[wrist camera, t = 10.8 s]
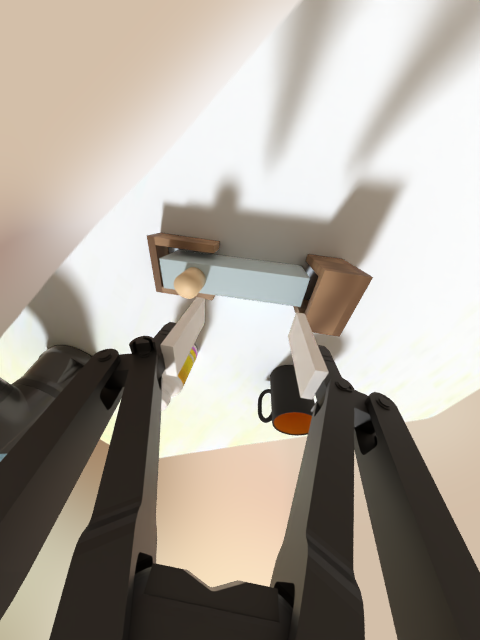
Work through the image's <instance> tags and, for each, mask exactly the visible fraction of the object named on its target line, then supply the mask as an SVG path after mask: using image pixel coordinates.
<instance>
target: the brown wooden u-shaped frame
mask: <svg viewBox="0 0 480 640" xmlns="http://www.w3.org/2000/svg"><path fill="white" fill-rule="evenodd" d="M147 240H148V246H149V252H150V257H151V263H152V269H153V275H154V281H155V286H156V292H162V293H168V294H175V295H179V294H178V293H177V292H176V290H175V289H167V288H164V285H163V279H162V272H161V266H160V260H159V258H162V257H164V256H166V255H168V254H169V250H168V247H173V248H179V249H186V250H193V251H200V252H207V253H215V252H216V251H217V250H218V249H219V245H220V241H214V240H207V239H200V238H193V237H186V236H179V235H172V234H165V233H157V234H153V235H148V236H147ZM196 297H200V298H205V299H207V300H213V299H214V297H215V295H210V294H203V293H198V294H197V296H195V297H194V298H196Z"/></svg>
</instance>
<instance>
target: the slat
mask: <svg viewBox="0 0 480 640" xmlns="http://www.w3.org/2000/svg"><path fill="white" fill-rule="evenodd" d="M159 260H160V266H161V272H162V279H163V285H164V288H167V289H175V290H176V292H177V293H178V294H179V295H180V296H182V297H184V298H187V299H191V298H194V297H195V296H197V294H198V293H203V294H210V295H218V296H225V297H232V298H239V299H246V300H254V301H261V302H268V303H275V304H282V305H290V306H297V307H301V304H302V301H303V298H304V295H305V292H306V289H307V286H308V283H309V280H310V278H309V276H308V275H307V273H306V272H305V271H304V269H303V268H302V266H300V265H292V264H284V263H277V262H269V261H261V260H253V259H246V258H238V257H230V256H223V255H215V254H207V253H199V252H192V251H184V250H177V251H175V252H172V253H170V254H168V255H166V256H164V257H162V258H159Z"/></svg>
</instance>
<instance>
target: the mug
mask: <svg viewBox="0 0 480 640" xmlns="http://www.w3.org/2000/svg"><path fill="white" fill-rule="evenodd" d="M270 384H271V389H266V390H264V391H263V392H262V393H261V394H260V396H259V399H258V416H259V418H260V420H261V421H262V422H265V423H268V422H270V421H272V424H273V426H274V428H275V429H276V430H278V431H279V432H282V433H285V434H288V435H306V434H308V432H309V428H310V423H311V419H312V414H313V412H312V411H311V409H312V408H313V406H314V405H315V403H314V399H312V400H311V399H306V398H301V397H300V392H299V387H298V383H297V378H296V373H295V368H294V365H284V366H280V367H278V368H276V369H275V370H273V372H272V373H271V375H270ZM266 393H270V394H271V406H272V412H271V414H270V416H269V417H268V418H264V417H263V415H262V398H263V396H264V395H265V394H266Z"/></svg>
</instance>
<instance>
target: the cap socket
mask: <svg viewBox="0 0 480 640" xmlns="http://www.w3.org/2000/svg"><path fill="white" fill-rule="evenodd" d="M306 262H307V263H308V264H309V266H310V267H311V268H312V269H313V270H314V271H315V273H316V274H317V275H318V276H319V277H318V280H317V282H316V285H315V288H314V290H313V293H312V295H311V298H310V300H307V299H303V301H302V304H301V307H297V306H293V307H294V310H295V313H296V312H297V313H303V314H305V316H306V318H307V321H308V323H309V325H310V328H311V330H312V332H314V333H320V334H327V335H333V336H340V335H341V333H342V331H343V329H344V328H345V326H346V324H347V322H348V320H349V319H350V317H351V315H352V313H353V312H354V310H355V308H356V306H357V305H358V303H359V301H360V299H361V297H362V296H363V294H364V292H365V290H366V289H367V287H368V285H369V283H370V282H371V280H372V278H373V277H371V276H370V275H368V274H367V273H365V272H363V271H362V270H360V269H358V268H357V267H355V266H353V265H352V264H350V263H348V262H347V261H345V260H343V259H339V258H332V257H325V256H318V255H311V254H308V255H307V258H306Z"/></svg>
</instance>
